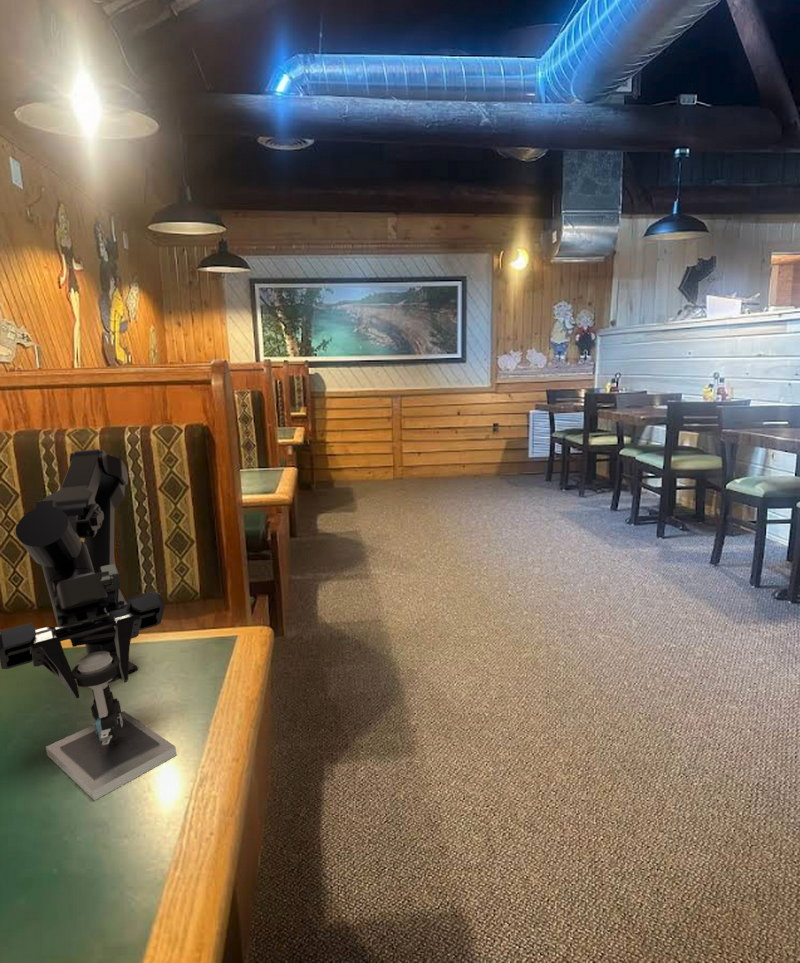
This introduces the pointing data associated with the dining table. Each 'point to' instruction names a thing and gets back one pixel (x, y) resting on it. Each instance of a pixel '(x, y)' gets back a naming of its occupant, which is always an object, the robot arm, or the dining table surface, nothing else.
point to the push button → (101, 691)
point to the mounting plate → (110, 756)
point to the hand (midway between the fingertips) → (102, 689)
